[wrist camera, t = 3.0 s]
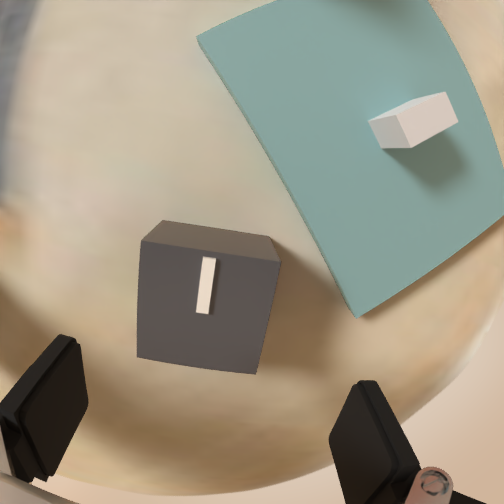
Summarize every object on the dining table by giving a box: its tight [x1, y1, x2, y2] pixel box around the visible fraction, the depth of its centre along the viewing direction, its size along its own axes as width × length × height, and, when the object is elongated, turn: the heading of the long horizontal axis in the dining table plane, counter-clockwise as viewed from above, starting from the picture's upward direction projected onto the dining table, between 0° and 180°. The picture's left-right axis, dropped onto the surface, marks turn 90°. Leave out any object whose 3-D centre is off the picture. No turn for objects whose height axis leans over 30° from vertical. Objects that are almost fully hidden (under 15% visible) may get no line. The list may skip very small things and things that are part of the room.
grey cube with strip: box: [137, 220, 281, 374], centre depth 18 cm, size 7×7×5 cm
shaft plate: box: [196, 0, 504, 318], centre depth 16 cm, size 16×20×5 cm
